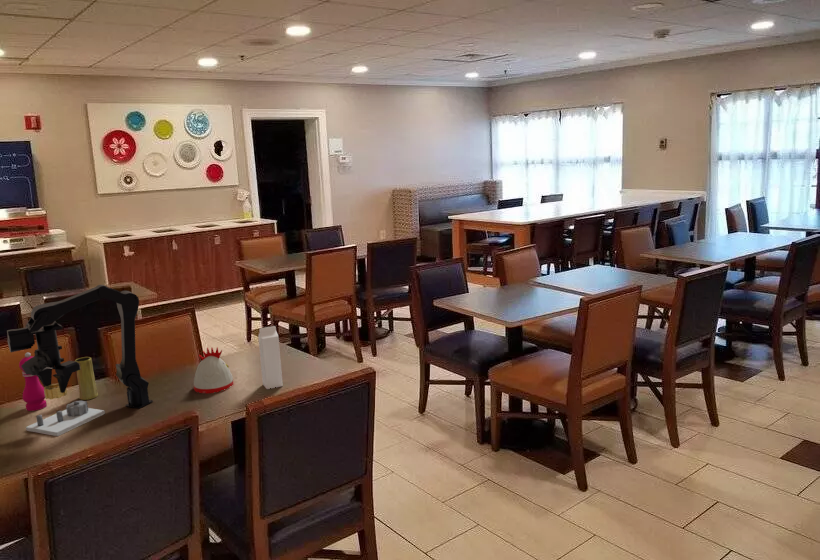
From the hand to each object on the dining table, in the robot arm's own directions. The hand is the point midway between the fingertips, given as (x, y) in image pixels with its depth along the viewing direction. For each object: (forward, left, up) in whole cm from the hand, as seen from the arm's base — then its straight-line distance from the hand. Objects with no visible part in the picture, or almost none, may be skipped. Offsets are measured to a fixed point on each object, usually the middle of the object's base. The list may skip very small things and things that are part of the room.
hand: (55, 391), depth 205 cm
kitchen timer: (-26, -43, -12) cm, 52 cm away
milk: (-47, -50, -12) cm, 70 cm away
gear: (0, 0, -1) cm, 1 cm away
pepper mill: (+22, -8, -12) cm, 26 cm away
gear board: (0, -2, -11) cm, 12 cm away
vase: (+12, -21, -12) cm, 27 cm away
